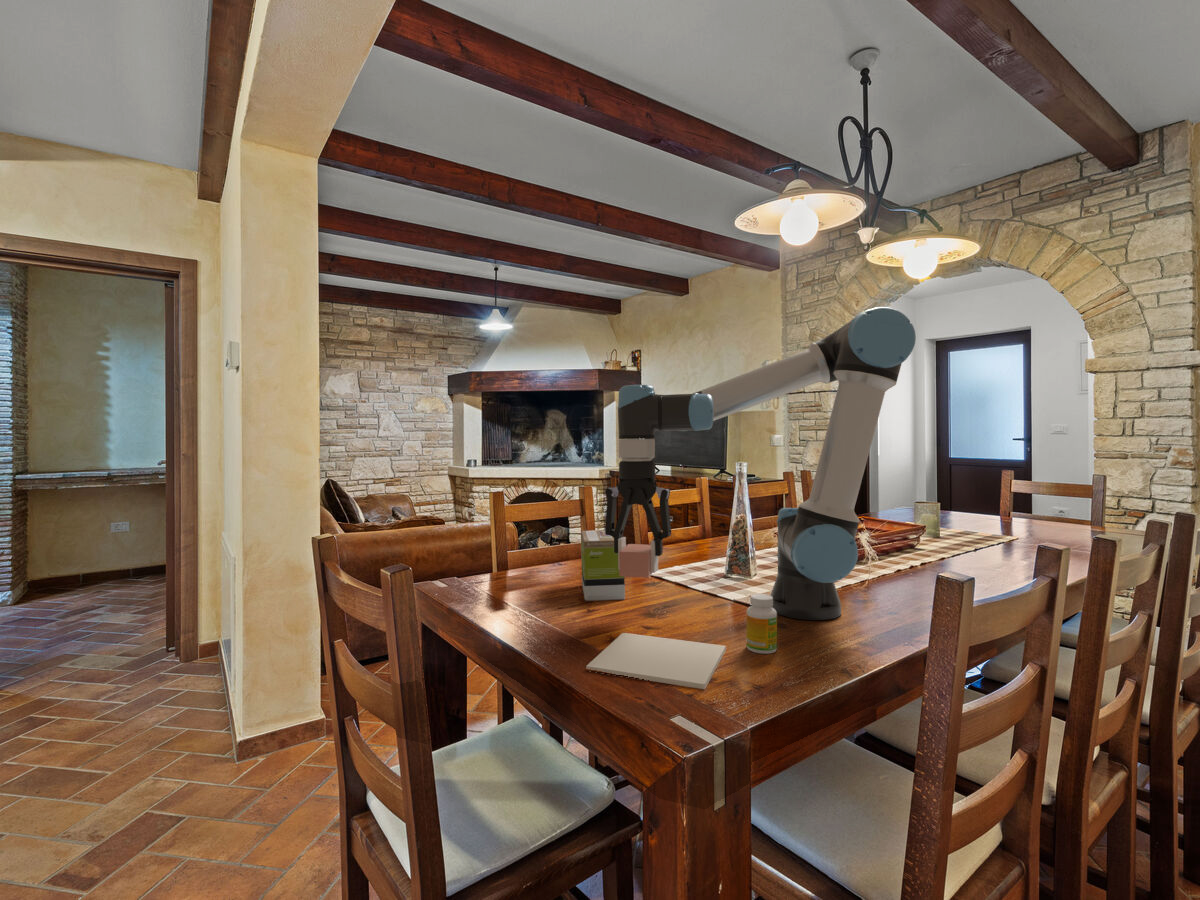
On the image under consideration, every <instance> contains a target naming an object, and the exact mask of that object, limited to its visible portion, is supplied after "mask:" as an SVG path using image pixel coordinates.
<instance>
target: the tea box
mask: <svg viewBox="0 0 1200 900" xmlns="http://www.w3.org/2000/svg"><path fill="white" fill-rule="evenodd" d="M580 555H581V559H580V560H581V587H582V592H583V597H584V598H583V599H584V601H585V602H592V601H611V600H612V601H614V600H625V599H626V598H625V597H626V581H625V578H626V576H619V570H618V553H615V552H614V538H613V537H612V536H610V535H606V533H605V529H595V530H594V529H593V530H580Z"/></svg>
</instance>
